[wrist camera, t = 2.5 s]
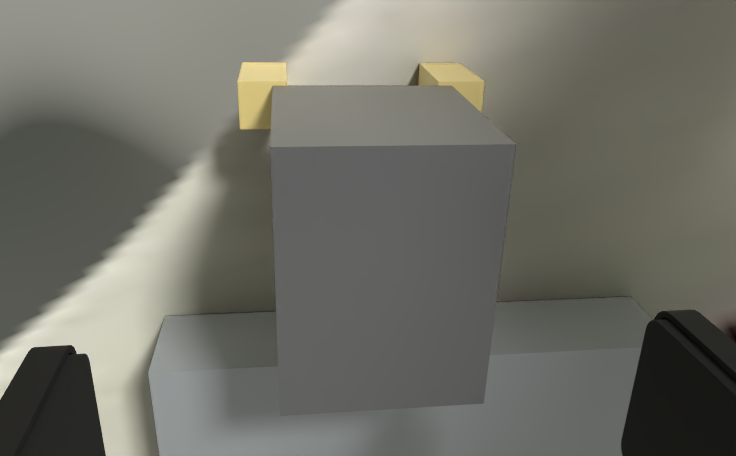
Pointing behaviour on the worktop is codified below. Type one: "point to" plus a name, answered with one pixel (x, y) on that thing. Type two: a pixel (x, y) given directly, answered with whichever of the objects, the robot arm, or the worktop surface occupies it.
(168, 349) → the socket
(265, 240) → the worktop surface
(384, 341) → the plug
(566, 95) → the worktop surface
